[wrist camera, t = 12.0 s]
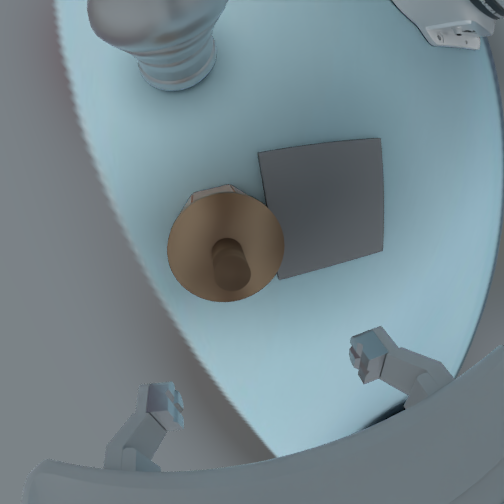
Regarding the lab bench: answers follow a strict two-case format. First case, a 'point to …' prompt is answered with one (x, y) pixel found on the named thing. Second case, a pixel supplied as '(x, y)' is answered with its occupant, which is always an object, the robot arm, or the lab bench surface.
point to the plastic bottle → (161, 36)
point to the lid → (225, 246)
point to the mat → (325, 202)
